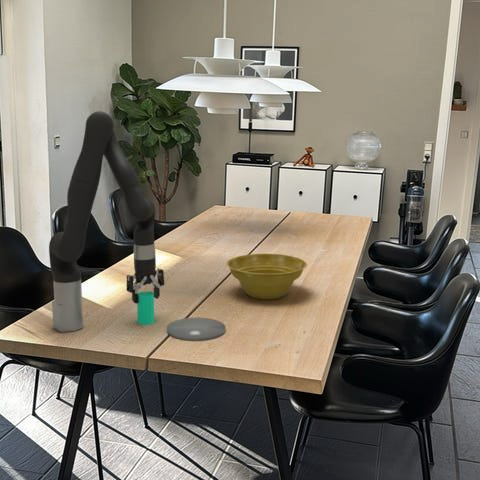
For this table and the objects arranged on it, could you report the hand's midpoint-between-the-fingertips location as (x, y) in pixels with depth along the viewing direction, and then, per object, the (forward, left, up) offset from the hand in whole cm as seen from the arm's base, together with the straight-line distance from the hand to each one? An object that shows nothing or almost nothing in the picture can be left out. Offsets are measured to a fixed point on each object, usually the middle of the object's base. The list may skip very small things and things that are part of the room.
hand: (146, 300), depth 238 cm
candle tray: (+8, -19, -8) cm, 22 cm away
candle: (-1, -1, -8) cm, 8 cm away
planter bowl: (+55, -2, -8) cm, 56 cm away
